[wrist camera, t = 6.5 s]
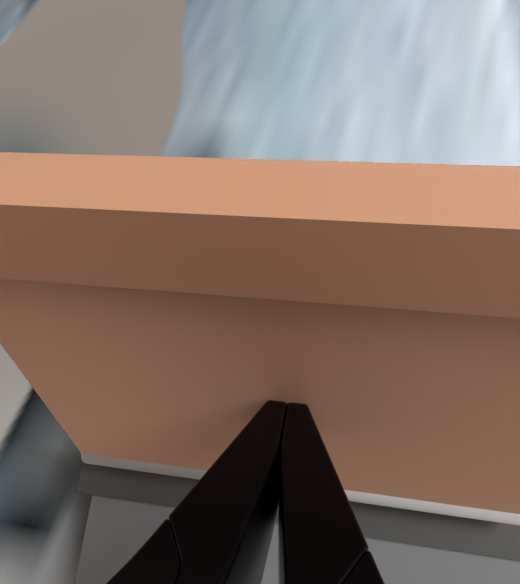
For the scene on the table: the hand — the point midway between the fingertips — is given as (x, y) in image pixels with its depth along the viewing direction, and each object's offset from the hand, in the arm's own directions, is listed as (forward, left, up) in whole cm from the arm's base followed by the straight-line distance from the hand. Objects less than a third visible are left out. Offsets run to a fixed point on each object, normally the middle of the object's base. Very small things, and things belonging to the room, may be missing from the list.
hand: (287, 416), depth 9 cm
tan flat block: (-2, 0, -4) cm, 4 cm away
